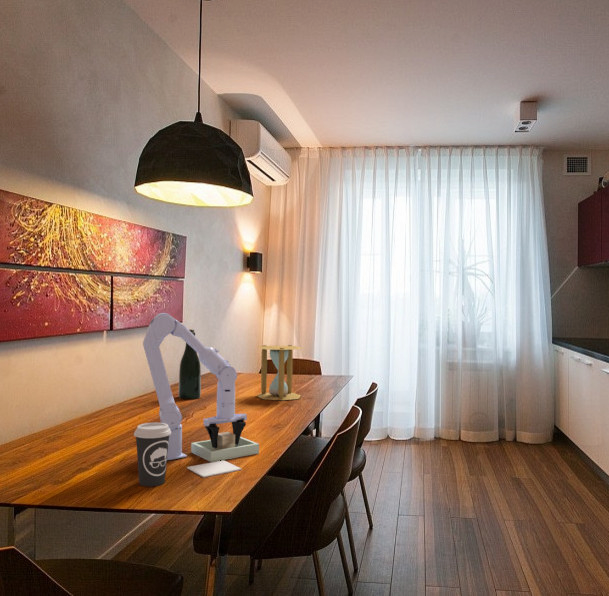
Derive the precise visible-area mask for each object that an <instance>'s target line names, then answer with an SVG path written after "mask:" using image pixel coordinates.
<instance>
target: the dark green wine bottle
mask: <svg viewBox="0 0 609 596" xmlns="http://www.w3.org/2000/svg"><path fill="white" fill-rule="evenodd" d="M189 330H190V332H191V333H192V334H193V335H194V336H195V337H196V332H195V329H189ZM179 362H180V363H179V373H178V398H179V399H183V400H196V399H197V400H198V399H199V398H201V393H202V390H201V389H202V387H201V386H202V385H201V384H202V382H201V381H202V380H201V379H202V378H201V377H202V374H201V373H202V370H201V368H202V367H201V362H200V361H199V354H198V353H197V352H196V351H195V350H194V349H193V348H192V347H191V346H189V345H188V344H187V343H186V342H185V348H184V351H183V353H182V357H181V359H180V361H179Z"/></svg>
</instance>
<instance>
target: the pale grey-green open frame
mask: <svg viewBox="0 0 609 596" xmlns="http://www.w3.org/2000/svg"><path fill="white" fill-rule="evenodd" d="M190 443H191V447H190V448H191V450H190V453H191V454H194V455H195V456H198V457H199V458H201V459H204V460H206V461H208V463H211V462H217V461H220V460H221V461H222V460H224V461H226V460H230V459H231V460H232V459H236V458H237V459H238V458H241V457H246V456H252V455H253V456H254V455H259V454H260V443H257V442H255V441H252V440H250V439H247V438H245V437H242V436H240V439H239V443H238V445H236V444H235V447H233V448H227V449H221V450H215V448H213V447H212V443H211V439H208V440H207V439H206V440H201V441H195V442H190Z"/></svg>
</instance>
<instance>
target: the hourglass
mask: <svg viewBox="0 0 609 596" xmlns="http://www.w3.org/2000/svg"><path fill="white" fill-rule="evenodd" d="M256 348H257V349H261V368H260V369H261V371H260V372H261V373H260V376H261V377H260V380H261V382H260V383H261V384H260V385H261V386H260V388H261V390H260V391H261V392H260V393H258V395H256V397H258V398H260V399H262V400H265V401H266V400H269V401H271V400H273V401H287V400H291V401H292V400H299V399H300V398H301V396H302V395H301V394H298V393H296V392H292V388H293V350H301V349H302V348H303V347H301V346H297V345H292V344H288V345H267V344H263V345H260V346H257V347H256ZM268 350H269V358H270V359H271V361H272V363H273V365H274V366H275V368H276V370H277V373H276V375H274V376H275V377H274V378H273V380H272V381H271V383H270V385H269V388H268V389H269V391H268V392H267V382H268V381H267V379H268V377H267V376H268ZM285 363H286V380H285Z"/></svg>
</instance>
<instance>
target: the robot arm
mask: <svg viewBox="0 0 609 596" xmlns="http://www.w3.org/2000/svg"><path fill="white" fill-rule="evenodd" d="M190 330H191V329H190V328H188V327H187V326H186V325H184V324H183V323H181V322H180V321H179V320H178V319H175V318H174V317H173V316H172V314H170V313H166V312H159V313H158V314H155V315H154V317H153V318H152V320H151V321H150V322H149V324H148V327H147V330H146V333H145V335H144V339H143V340H142V345H143V346H142V347H143V348H144V349H143V350H144V353H145V357H146V361H147V364H148V367H149V372H150V375H151V379H152V382H153V385H154V390H155V393H156V396H157V401H158V404H159V411H158V415H159V419H160V423H165V424H168V426H169V428H170V430H171V434H170V435H169V444H168V453H167V461H172V460H176V459H182V458H187V457H188V455H187V454H185V453H183V452H182V451H183V424H182V420H183V416H182V413H181V411H180V408H179V406H178V405H177V404H176V402H175V399H174V396H173V392H172V389H171V385H170V381H169V377H168V374H167V370H166V367H165V363H164V359H163V356H162V352H161V348H160V347H161V345H162V343H163V341H164V340H165V338H166V337H168V335H170V334H171V335H172V336H173V337H178V338H180V339H182V341H184V342H185V344H186V343H187V344H188V345H189V346H191V347H192V348H193V349H194V350H195V351H196V352H197V355H198V358H199V361H200V364H202V365H203V366H204V367H205V368H206V369H207V370H208V371H209V372H210V373H211V374H213V375H215V378H216V379H217V388H216V415H215V416H212V417H207V418H203V426H204V427H205V430H206V432H207V433H208V436H209V440H211V443H212V447H213V448H217V446H218V433H220V427H219V426H218V425H221V424H227V423H231V426H232V434H235V444H236V445H238V443H239V439H240V437H242V436H241V435H242V432H243V430H244V429H245V427H246V423H247V422H246V421H248V415H247V414H246V413H236V380H237V378H238V374H237V371H236V369H235V368H234V367H233V366H232V365H231V364H230V362H229V360H228V359H225V358H224V357H223V356H222V355H221V354H219V350H218V349H217V348H213V347H212V346H205V345H204V344H203V342H201V340H200V339H199V338H197V336H196V335H195V336H194V335H193V334H192V333H191V332H190Z"/></svg>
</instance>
